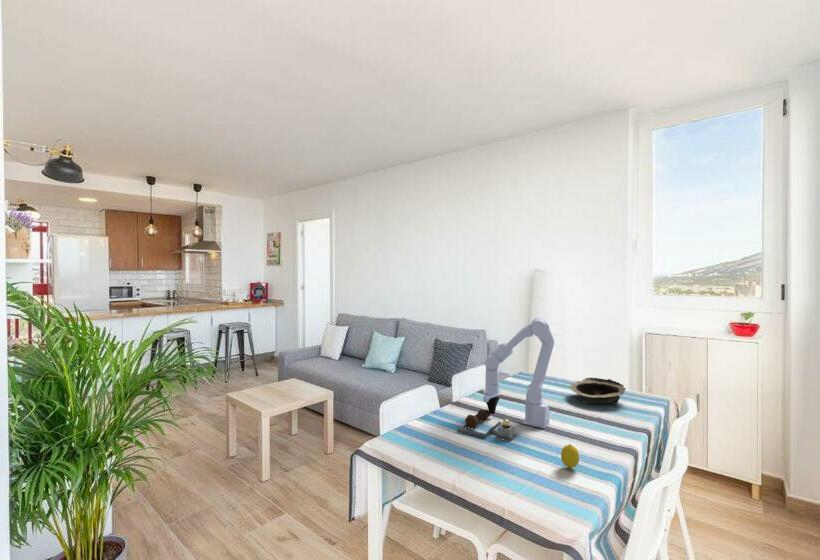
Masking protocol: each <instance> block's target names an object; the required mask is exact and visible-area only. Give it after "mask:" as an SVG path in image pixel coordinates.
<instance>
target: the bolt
mask: <svg viewBox="0 0 820 560" xmlns="http://www.w3.org/2000/svg"><path fill="white" fill-rule="evenodd" d="M490 416H491V414H490V412H489V410H488V409H480V410H478V412H477V413H476V414H475V415H474V414H468V415H467V416H466V417H465V419H464V422H465V423H466V425H467V427H466V428H468V427H469V429H470V428H473V429H472V430H475V429H476V428H477V427H478V424H479V423H480V422H483V421H485V422H487V420H488V419H489V417H490ZM465 423H464V424H465Z"/></svg>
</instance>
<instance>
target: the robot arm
mask: <svg viewBox="0 0 820 560" xmlns="http://www.w3.org/2000/svg"><path fill="white" fill-rule="evenodd" d="M533 336H534V337H535V336H536V337H537V338H538V340H539V341H540V343H541V347H540V350H539V354H538V357H537V360H536V364H535V367H534V368H535V369H534V373H533V374H532V378H531V381H530V383H529V385H528V386H527V388H526V394H525V401H524V402H525V403H524V405H525V406H524V411H525V412H524V419H523V421H522V422H521V424H524V425H528V426H531V427H537V428H540V429H541V428H542V429H545V428H546V427H547V426H548V425H549V423H550V405H549V404H547V403H544V400H543V396H542V394H543V386H544V381H545V379H546V374H547V371H548V367H549V364H550V359H551V356H552V353H553V350H554V346H555V339H554V337H553V334H552V331H551V329H550V326H549V324H548V323H547V322H546V321H545V320H544V319H543V318H541V317H537V318H534V319H533V320H532V321H531V322H529V323H527V324H526V325H525V326H523V327H522V328H521V329H520V330H519V331H518V332H517V333H516V334H515V335H514V336H513V337H512V338H511V339H510V340H509V341H507V342H503V343H499V344H497V348H496V349H495V350H494V351H491V352H490V353H489V355H488V356H487V357H486V358H485V361H484V366H485V375H484V376H485V377H484V378H485V379H484V380H485V382H484V383H485V387H484V388H485V390H483V391H482V394H484V396H483V398H482V399H483V401H482V402H485V403H486V406H487V410H488V411H489V412H490V415H495V414H496V409H497V406H498V402H499V400H500V397H499V396H500V394H501V388H499V387H500V379H499V378H500V376H499V375H500V373H499V365H500V364H502V363H504V361H505V360H506V359H508V358H509V357H510V356H511V355H512V354H513V349H515V347H516V346H518V344H520V343H521V342H522V341H524V340H525V339H526V338H530V337H533Z"/></svg>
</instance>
